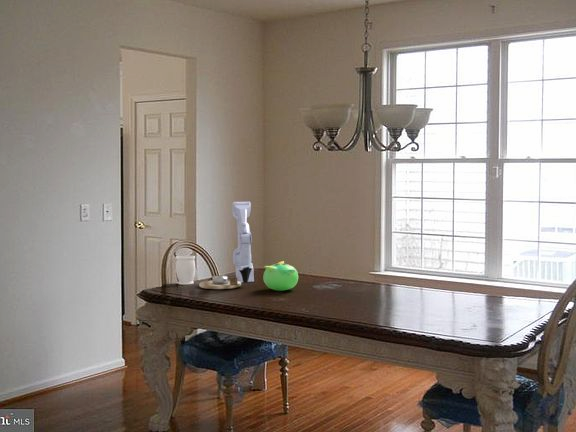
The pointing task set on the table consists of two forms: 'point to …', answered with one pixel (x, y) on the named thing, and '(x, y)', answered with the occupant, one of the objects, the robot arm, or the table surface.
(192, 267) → the jar
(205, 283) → the disc
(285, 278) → the green tomato
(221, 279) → the cover
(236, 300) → the table surface
